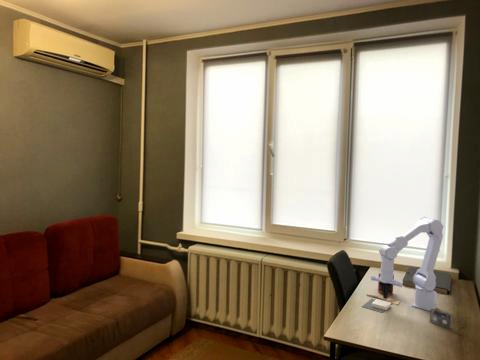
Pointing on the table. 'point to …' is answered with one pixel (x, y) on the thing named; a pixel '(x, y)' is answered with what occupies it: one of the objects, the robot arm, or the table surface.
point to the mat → (369, 306)
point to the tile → (381, 304)
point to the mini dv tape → (440, 318)
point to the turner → (385, 299)
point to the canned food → (380, 287)
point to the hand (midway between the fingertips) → (385, 297)
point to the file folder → (441, 280)
